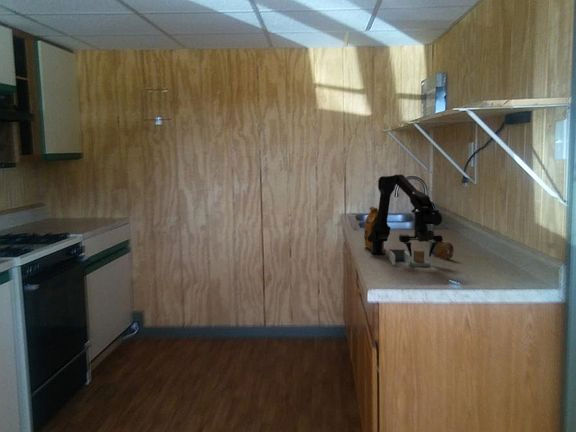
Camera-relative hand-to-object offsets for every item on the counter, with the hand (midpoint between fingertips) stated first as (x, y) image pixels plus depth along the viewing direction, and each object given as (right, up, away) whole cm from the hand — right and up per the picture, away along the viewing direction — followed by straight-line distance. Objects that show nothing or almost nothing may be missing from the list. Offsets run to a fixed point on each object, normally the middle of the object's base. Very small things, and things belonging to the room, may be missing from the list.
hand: (420, 256), depth 255 cm
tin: (+14, -2, +16) cm, 21 cm away
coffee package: (-15, +1, +41) cm, 43 cm away
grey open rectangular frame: (-9, -3, +5) cm, 10 cm away
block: (0, -2, +2) cm, 3 cm away
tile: (0, -4, 0) cm, 4 cm away
